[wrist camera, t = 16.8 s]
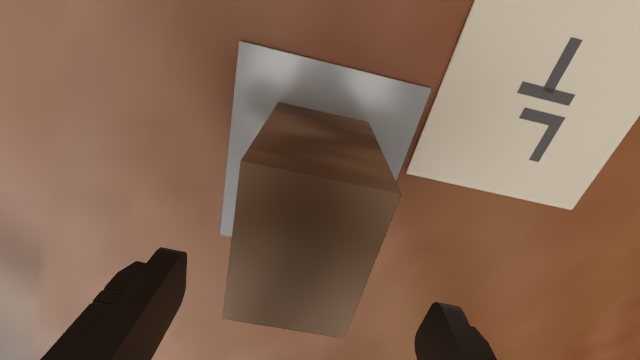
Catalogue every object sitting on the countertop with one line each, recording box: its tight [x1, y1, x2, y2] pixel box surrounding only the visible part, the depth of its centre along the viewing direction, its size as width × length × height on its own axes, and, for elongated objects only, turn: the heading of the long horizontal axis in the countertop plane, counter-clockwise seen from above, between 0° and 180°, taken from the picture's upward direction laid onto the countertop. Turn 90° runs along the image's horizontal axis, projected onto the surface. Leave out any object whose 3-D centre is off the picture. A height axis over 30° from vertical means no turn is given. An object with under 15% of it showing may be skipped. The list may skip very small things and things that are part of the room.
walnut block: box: [223, 102, 402, 339], centre depth 14 cm, size 5×7×8 cm
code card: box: [405, 0, 640, 210], centre depth 16 cm, size 11×11×1 cm
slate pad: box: [220, 41, 432, 237], centre depth 18 cm, size 10×12×1 cm
